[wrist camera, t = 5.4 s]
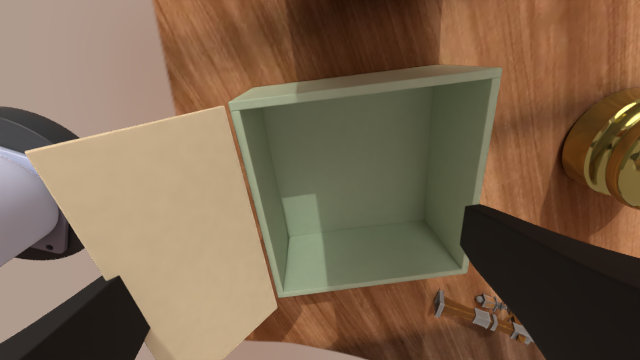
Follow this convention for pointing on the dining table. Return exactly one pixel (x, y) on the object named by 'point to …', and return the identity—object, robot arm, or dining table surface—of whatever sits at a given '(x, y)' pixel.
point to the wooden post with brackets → (483, 315)
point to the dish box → (366, 173)
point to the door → (168, 227)
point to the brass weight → (608, 148)
